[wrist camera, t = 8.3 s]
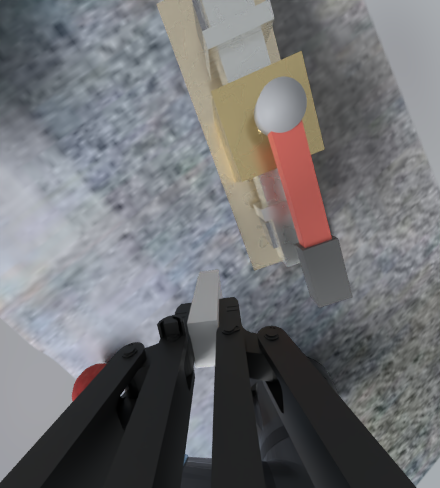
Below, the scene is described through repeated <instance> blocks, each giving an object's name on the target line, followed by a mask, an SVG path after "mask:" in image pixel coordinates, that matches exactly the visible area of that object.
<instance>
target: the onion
mask: <svg viewBox="0 0 440 488" xmlns="http://www.w3.org/2000/svg"><path fill="white" fill-rule="evenodd" d="M105 365H106V364H105V363H104V364H95V365H93V366H90V367H89V368H87V369H85V370H84V371H83V372H82V374H81V375H80V376H79V377H78V378H77V380H76V382H75V384H74V388H73V392H72V400H73V401H74V400H75V399H76V398H77V397H78V396H79V394H80V393H81V392H82V391H83V390H84V389H85V388H86V387H87V386H88V384H89V383H90V382H91V381H92V380H93V379H94V378H95V377H96V375H97V374H98V373H99V372H100V371H101V370H102V369H103V368H104V367H105Z"/></svg>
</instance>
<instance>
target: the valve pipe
mask: <svg viewBox="0 0 440 488" xmlns="http://www.w3.org/2000/svg"><path fill="white" fill-rule="evenodd" d="M157 6H158V9H159V12H160V15H161V18H162V20H163V23H164V26H165V28H166V31H167V34H168V37H169V39H170V42H171V45H172V48H173V50H174V53H175V56H176V58H177V61H178V64H179V67H180V69H181V72H182V75H183V78H184V80H185V83H186V86H187V88H188V91H189V94H190V97H191V99H192V102H193V105H194V108H195V110H196V113H197V116H198V118H199V121H200V124H201V127H202V129H203V132H204V135H205V138H206V140H207V143H208V146H209V148H210V151H211V154H212V157H213V159H214V162H215V165H216V168H217V170H218V173H219V176H220V178H221V181H222V184H223V187H224V189H225V192H226V195H227V197H228V200H229V203H230V206H231V208H232V211H233V214H234V217H235V219H236V222H237V225H238V227H239V230H240V233H241V236H242V238H243V241H244V244H245V247H246V249H247V252H248V255H249V257H250V260H251V263H252V266H253V268H254V271H255V270H258V269H261V268H264V267H267V266H269V265H272V264H275V263H278V262H281V261H283V262H284V263H285V265H286V266H287V267H290V266H293V265H296V264H299V263H300V260H299V257H298V254H297V250H296V247H295V244H296V243H299V240H298V237H297V233H296V230H295V227H294V223H293V220H292V217H291V213H290V210H289V206H288V203H287V200H286V196H285V193H284V189H283V186H282V183H281V179H280V176H279V173H278V169H277V166H276V162H275V159H274V156H273V152H272V149H271V145H270V142H269V139H268V136H266V135H265V134H263V133H262V132H261V131H260V130H259V129H258V128H257V126H256V123H255V120H254V109H255V105H256V103H257V100H258V98H259V96H260V94H261V92H262V90H263V88H264V87H265V86H266V85H267V84H268V83H269V82H270V81H271V80H273V79H275V78H278V77H290V78H293V79H295V80H296V81H298V82H299V83H300V84H301V85H302V87H303V89H304V91H305V93H306V98H307V107H306V111H305V114H304V116H303V118H302V122H303V126H304V130H305V134H306V138H307V142H308V146H309V150H310V154H311V155H312V154H314V153H317V152H319V151H322V150H324V149H325V148H324V144H323V140H322V136H321V131H320V127H319V123H318V119H317V114H316V110H315V106H314V102H313V97H312V93H311V89H310V85H309V80H308V76H307V72H306V68H305V63H304V59H303V55H302V51H300V52H298V53H295V54H293V55H291V56H289V57H286V58H284V59H282V60H281V58H280V54H279V51H278V47H277V43H276V39H275V35H274V31H273V27H272V25H273V22H274V19H275V18H274V14H273V10H272V6H271V2H270V0H267V1H266V0H164V1H162V2H160V3H158V4H157Z"/></svg>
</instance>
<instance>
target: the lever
mask: <svg viewBox="0 0 440 488" xmlns="http://www.w3.org/2000/svg"><path fill="white" fill-rule="evenodd" d="M306 107H307V98H306V93H305V91H304V89H303V87H302V85H301V84H300V83H299V82H298V81H296V80H295V79H293V78H290V77H278V78H275V79H273V80H271V81H270V82H269V83H268V84H267V85H266V86H265V87H264V88H263V90H262V92H261V94H260V96H259V98H258V100H257V103H256V105H255V109H254V120H255V123H256V126H257V128H258V129H259V130H260V131H261V132H262V133H263V134H265V135H266V136H268V139H269V142H270V145H271V149H272V152H273V156H274V159H275V162H276V166H277V169H278V173H279V176H280V179H281V183H282V186H283V189H284V193H285V196H286V200H287V203H288V206H289V210H290V213H291V217H292V220H293V223H294V227H295V230H296V233H297V237H298V240H299V243H296V244H295V247H296V250H297V254H298V257H299V260H300V264H301V267H302V270H303V273H304V277H305V280H306V283H307V287H308V290H309V293H310V296H311V298H312V299H313V300H314V301H315V303H316V304H317V305H318V306H319V308H320V307H323V306H326V305H330V304H333V303H336V302H339V301H342V300H345V299H348V298H351V297H352V293H351V289H350V285H349V281H348V277H347V273H346V268H345V264H344V260H343V256H342V252H341V248H340V244H339V240H338V238H336V237H334V236H332V235H331V233H330V229H329V225H328V221H327V217H326V213H325V209H324V205H323V201H322V197H321V193H320V189H319V185H318V181H317V177H316V173H315V170H314V166H313V162H312V158H311V154H310V150H309V146H308V142H307V138H306V134H305V130H304V126H303V122H302V118H303V116H304V114H305V111H306Z"/></svg>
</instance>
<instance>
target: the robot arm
mask: <svg viewBox="0 0 440 488" xmlns="http://www.w3.org/2000/svg"><path fill="white" fill-rule="evenodd" d="M157 326H158V330H159V334H160V338H161V339H160V341H159V343H158V344H156V345H153V346H150V347H147V348H144V345H143V344H142V343H139V342H136V343H131V344H128V345H126V346H124V347H123V348H121V349H120V350H119V351H118V352H117V353H116V354H115V355H114V357H113V358H112V359H111V360H110V361H109V362H108V363H107V364H106V365H105V367H104V368H103V369H102V370H101V371H100V372H99V373H98V374H97V375H96V377H95V378H94V379H93V380H92V381H91V382H90V383H89V384H88V386H87V387H86V388H85V389H84V390H83V391H82V392H81V393H80V394H79V396H78V397H77V398H76V399H75V400H74V401H73V402H72V403H71V404H70V406H69V407H68V408H67V409H66V410H65V411H64V412H63V413H62V414H61V416H60V417H59V418H58V419H57V420H56V421H55V422H54V423H53V424H52V426H51V427H50V428H49V429H48V430H47V431H46V432H45V433H44V435H43V436H42V437H41V438H40V439H39V440H38V441H37V442H36V444H35V445H34V446H33V447H32V448H31V449H30V450H29V451H28V452H27V454H26V455H25V456H24V457H23V458H22V459H21V460H20V461H19V463H17V465H16V466H15V467H14V468H13V469H12V471H10V472H9V473H8V475H7V476H6V477H5V478H4V479H3V480H2V481H1V482H0V488H416V487H415V485H414V484H413V483H412V482H411V481H410V479H409V478H408V477H407V476H406V475H405V473H404V472H403V471H402V470H401V469H400V468H399V466H398V465H397V464H396V463H395V462H394V460H393V459H392V458H391V457H390V456H389V455H388V453H387V452H386V451H385V450H384V449H383V447H382V446H381V445H380V444H379V443H378V441H377V440H376V439H375V438H374V437H373V436H372V434H371V433H370V432H369V431H368V430H367V428H366V427H365V426H364V425H363V424H362V422H361V421H360V420H359V419H358V418H357V417H356V415H355V414H354V413H353V412H352V411H351V409H350V408H349V407H348V406H347V405H346V404H345V402H344V401H343V400H342V399H341V398H340V396H339V395H338V392H337V389H336V387H335V385H334V383H333V381H332V379H331V377H330V376H329V374H328V372H327V371H326V369H325V368H324V367H323V366H322V365H321V364H319V363H318V362H316V361H315V360H313V359H310V358H308V357H306V356H305V355H304V354H303V353H302V351H301V350H300V349H299V348H298V347H297V345H296V344H295V343H294V342H293V341H292V339H291V338H290V337H289V336H288V335H287V334H286V332H285V331H284V330H282V329H281V328H279V327H276V326H267V327H264V328H262V329H261V330H260V331H259V332H258V334H257V333H251V332H248V331H246V330H245V329H244V328H243V327H242V324H241V318H240V311H239V304H238V300H237V299H236V298H235V297H230V298H223V297H222V291H221V284H220V277H219V271H218V270H210V271H203V272H199V276H198V280H197V284H196V288H195V292H194V296H193V300H192V303H186V304H181V305H180V306H179V307H178V308H177V309H176V312H175V315H172V316H168V317H166V318H163V319H162V320H161V321H159V323H158V324H157ZM194 361H195V366H196V368H203V367H212V366H215V382H214V412H213V441H212V458H197V457H188V455H186V454H185V449H186V441H187V434H188V426H189V418H190V411H191V403H192V395H193V388H194V380H195V373H194V368H193V367H194ZM124 389H125V392H124V394H123V395H122V396H120V395H121V394H122V392H123V391H124Z"/></svg>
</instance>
